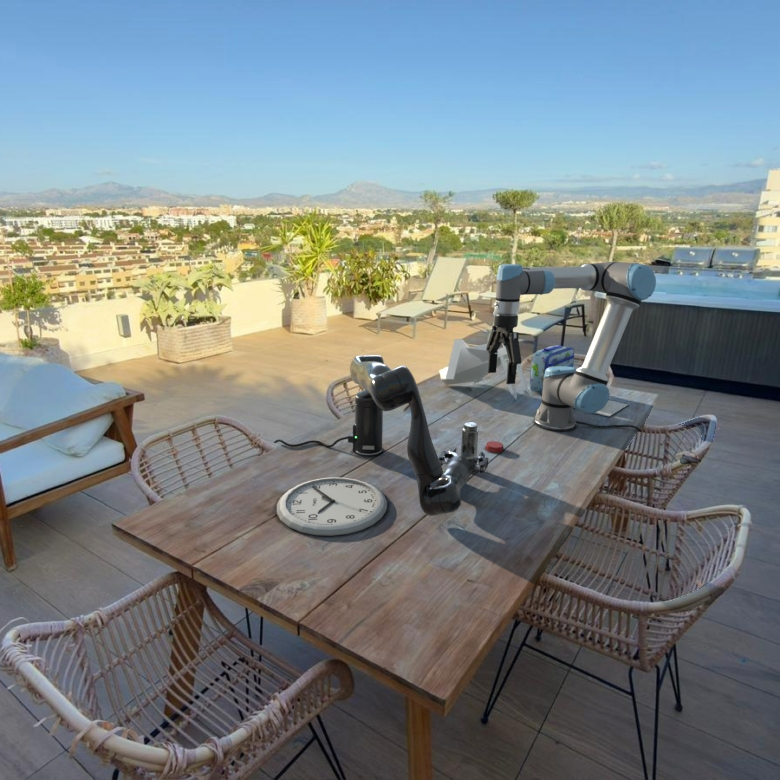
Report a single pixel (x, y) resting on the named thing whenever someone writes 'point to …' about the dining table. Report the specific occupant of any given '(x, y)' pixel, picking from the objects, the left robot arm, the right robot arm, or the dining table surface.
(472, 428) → the bottle
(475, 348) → the white plastic object
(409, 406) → the fork
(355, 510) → the wall clock
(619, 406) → the invitation card
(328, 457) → the dining table surface
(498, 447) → the lid
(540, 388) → the lunch box
